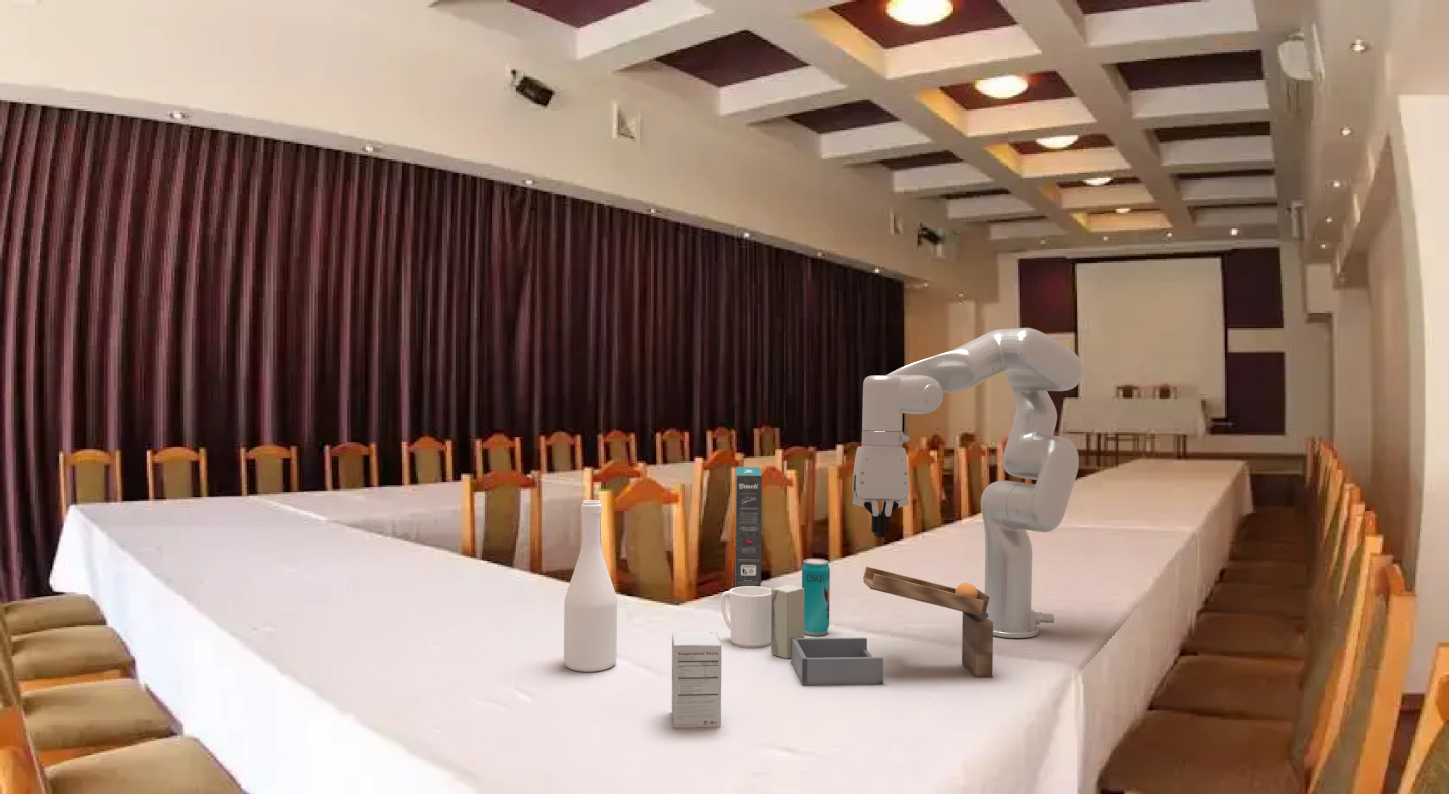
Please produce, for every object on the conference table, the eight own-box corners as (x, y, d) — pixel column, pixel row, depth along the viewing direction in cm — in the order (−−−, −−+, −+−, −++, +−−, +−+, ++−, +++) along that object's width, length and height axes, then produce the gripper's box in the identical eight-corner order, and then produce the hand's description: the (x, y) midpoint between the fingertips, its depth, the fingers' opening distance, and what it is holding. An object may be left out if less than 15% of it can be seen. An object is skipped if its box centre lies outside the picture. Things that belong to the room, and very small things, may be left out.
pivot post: (976, 663, 172) (977, 596, 172) (992, 677, 164) (993, 607, 164) (960, 663, 172) (961, 596, 172) (975, 677, 164) (976, 607, 163)
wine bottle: (573, 676, 162) (574, 505, 162) (557, 661, 171) (558, 499, 170) (624, 669, 166) (625, 503, 166) (605, 655, 175) (607, 496, 174)
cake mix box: (760, 602, 218) (761, 475, 218) (735, 602, 219) (736, 475, 218) (758, 582, 240) (759, 467, 240) (735, 582, 240) (736, 467, 240)
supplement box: (670, 711, 145) (671, 631, 145) (717, 710, 146) (718, 630, 146) (672, 729, 138) (672, 644, 138) (721, 728, 139) (722, 644, 138)
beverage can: (827, 637, 188) (828, 564, 188) (799, 635, 190) (800, 563, 189) (830, 630, 194) (831, 559, 194) (803, 628, 195) (803, 557, 195)
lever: (958, 599, 179) (963, 579, 179) (987, 619, 164) (993, 597, 164) (852, 572, 178) (857, 552, 178) (871, 591, 162) (876, 569, 162)
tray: (865, 661, 172) (865, 637, 172) (882, 684, 159) (883, 658, 159) (791, 662, 171) (791, 638, 171) (802, 685, 158) (802, 659, 158)
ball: (969, 605, 169) (976, 584, 169) (977, 610, 165) (984, 589, 165) (949, 598, 169) (956, 577, 169) (956, 603, 165) (963, 582, 165)
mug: (778, 639, 187) (779, 588, 187) (766, 651, 179) (766, 597, 179) (727, 633, 191) (727, 584, 191) (712, 645, 182) (713, 593, 182)
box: (787, 649, 180) (788, 583, 180) (805, 654, 177) (805, 587, 176) (769, 655, 176) (770, 587, 176) (786, 660, 173) (787, 591, 173)
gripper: (914, 439, 180) (912, 533, 180) (839, 438, 179) (837, 533, 179) (926, 442, 172) (924, 540, 173) (847, 440, 171) (845, 539, 172)
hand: (879, 536), depth 176 cm, fingers closed
